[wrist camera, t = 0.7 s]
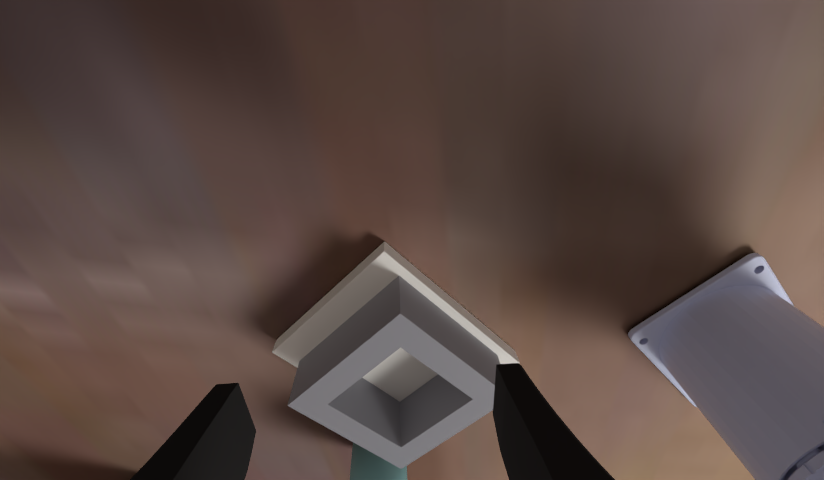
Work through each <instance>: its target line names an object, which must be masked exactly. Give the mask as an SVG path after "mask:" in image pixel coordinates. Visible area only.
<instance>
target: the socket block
mask: <svg viewBox="0 0 824 480" xmlns="http://www.w3.org/2000/svg"><path fill="white" fill-rule="evenodd" d="M272 353H274V354H276V355H277V356H279V357H281V358H282V359H284V360H285V361H287V362H289V363H290V364H292V365H294V366H295V367H297V372H296V376H295V379H294V383H293V387H292V391H291V394H290V398H289V402H288V406H289V407H291V408H292V409H294V410H296V411H298V412H300V413H301V414H303V415H305V416H307V417H309V418H310V419H312V420H314V421H316V422H318V423H319V424H321V425H323V426H325V427H327V428H328V429H330V430H332V431H334V432H336V433H337V434H339V435H341V436H343V437H345V438H346V439H348V440H350V441H352V442H354V443H355V444H357V445H359V446H361V447H363V448H364V449H366V450H368V451H370V452H372V453H373V454H375V455H377V456H379V457H381V458H382V459H384V460H386V461H388V462H390V463H391V464H393V465H395V466H397V467H398V468H400V469H402V468H404V467H405V466H407V465H408V464H410V463H411V462H413V461H415V460H416V459H418V458H419V457H421V456H422V455H424V454H425V453H427V452H428V451H430V450H432V449H433V448H435V447H436V446H438V445H439V444H441V443H442V442H444V441H445V440H447V439H449V438H450V437H452V436H453V435H455V434H456V433H458V432H459V431H461V430H463V429H464V428H466V427H467V426H469V425H470V424H472V423H473V422H475V421H476V420H478V419H480V418H481V417H483V416H484V415H486V414H487V413H489V412H490V411H492V410H493V404H494V390H495V376H496V364H510V363H520V362H519V360H518V357H517V354H516V352H515V350H513V349H512V348H511V347H510V346H509V345H508V344H506V343H505V342H504V341H503V340H502V339H500V338H499V337H498V336H497V335H496V334H494V333H493V332H492V331H491V330H490V329H488V328H487V327H486V326H485V325H484V324H482V323H481V322H480V321H479V320H478V319H477V318H475V317H474V316H473V315H472V314H471V313H469V312H468V311H467V310H466V309H465V308H463V307H462V306H461V305H460V304H459V303H457V302H456V301H455V300H454V299H453V298H451V297H450V296H449V295H448V294H447V293H446V292H444V291H443V290H442V289H441V288H440V287H438V286H437V285H436V284H435V283H434V282H432V281H431V280H430V279H429V278H428V277H426V276H425V275H424V274H423V273H422V272H420V271H419V270H418V269H417V268H416V267H415V266H413V265H412V264H411V263H410V262H409V261H407V260H406V259H405V258H404V257H403V256H401V255H400V254H399V253H398V252H397V251H395V250H394V249H393V248H392V247H391V246H389V245H388V244H387V243H386V242H385V241H384V242H383V243H382V244H381V245H380V246H379V247H378V248H377V249H375V250H374V251H373V252H372V253H371V254H370V255H369V256H368V257H367V258H366V259H365V260H363V261H362V262H361V263H360V264H359V265H358V266H357V267H356V268H355V269H354V270H352V271H351V272H350V273H349V274H348V275H347V276H346V277H345V278H344V279H343V280H341V281H340V282H339V283H338V284H337V285H336V286H335V287H334V288H333V289H332V290H330V291H329V292H328V293H327V294H326V295H325V296H324V297H323V298H322V299H321V300H319V301H318V302H317V303H316V304H315V305H314V306H313V307H312V308H311V309H310V310H308V311H307V312H306V313H305V314H304V315H303V316H302V317H301V318H300V319H299V320H298V321H296V322H295V323H294V324H293V325H292V326H291V327H290V328H289V329H288V330H287V331H285V332H284V333H283V334H282V335H281V336H280V337H279V338H278V339H277V340H276V342H275V345H274V348H273V351H272Z"/></svg>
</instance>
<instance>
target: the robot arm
mask: <svg viewBox="0 0 824 480" xmlns="http://www.w3.org/2000/svg"><path fill="white" fill-rule="evenodd" d="M628 336H629V338H630V339H631V341H632V342H633V343H634V344H635V345H636V346H637V347H638V348H639V349H640V350H641V351H642V352H643V353H644V354H645V355H646V356H647V358H648V359H649V360H650V361H651V362H652V363H653V364H654V365H655V366H656V367H657V368H658V369H659V370H660V371H661V372H662V373H663V374H664V375H665V376H666V377H667V378H668V379H669V380H670V382H671V383H672V384H673V385H674V386H675V387H676V388H677V389H678V390H679V391H680V392H681V393H682V394H683V395H684V396H685V397H686V398H687V399H688V400H689V401H690V402H691V403H692V404H693V406H695V407H698V408H699V410H700V411H701V412H702V413H703V415H704V416H705V417H706V418H707V420H708V421H709V422H710V423H711V425H712V426H713V427H714V428H715V430H716V431H717V432H718V433H719V435H720V436H721V437H722V438H723V440H724V441H725V442H726V443H727V445H728V446H729V447H730V448H731V450H732V451H733V452H734V453H735V455H736V456H737V457H738V458H739V460H740V461H741V462H742V463H743V465H744V466H745V467H746V468H747V470H748V471H749V472H750V473H751V475H752V476H753V477H754V478H755V480H824V327H823V326H821V325H820V324H818V323H817V322H816V321H814V320H813V319H811V318H810V317H808V316H807V315H806V314H804V313H803V312H801V311H800V310H799V309H797V308H796V307H794V305H793V303H792V302H791V300H790V298H789V297H788V295H787V294H786V292H785V290H784V289H783V287H782V286H781V284H780V282H779V281H778V279H777V278H776V276H775V274H774V273H773V271H772V270H771V268H770V266H769V265H768V263H767V262H766V260H765V258H764V257H763V256H761V255H759V254H758V253H751V254H748V255H746V256H745V257H743V258H742V259H740V260H739V261H737V262H735V263H734V264H732V265H731V266H729V267H728V268H726V269H724V270H723V271H721V272H720V273H718V274H717V275H715V276H713V277H712V278H710V279H709V280H707V281H706V282H704V283H703V284H701V285H699V286H698V287H696V288H695V289H693V290H692V291H690V292H688V293H687V294H685V295H684V296H682V297H681V298H679V299H677V300H676V301H674V302H673V303H671V304H670V305H668V306H667V307H665V308H663V309H662V310H660V311H659V312H657V313H656V314H654V315H652V316H651V317H649V318H648V319H646V320H645V321H643V322H641V323H640V324H638V325H637V326H635V327H634V328H632V329H631V330H630V331H629V333H628ZM493 417H494V422H495V427H496V432H497V437H498V442H499V446H500V451H501V454H502V458H503V461H504V464H505V467H506V471H507V474H508V477H509V480H615V479H614V478H613V477H612V476H611V475H610V474H609V473H608V472H607V471H606V470H605V469H604V468H603V467H602V466H601V465H600V464H599V462H598V461H597V460H596V459H595V458H594V457H593V456H592V455H591V454H590V453H589V451H588V450H587V449H586V448H585V447H584V446H583V445H582V444H581V442H580V441H579V440H578V439H577V438H576V437H575V435H574V434H573V433H572V432H571V431H570V429H569V428H568V427H567V426H566V425H565V423H564V422H563V421H562V420H561V418H560V417H559V416H558V415H557V414H556V412H555V411H554V410H553V408H552V407H551V406H550V405H549V403H548V402H547V401H546V399H545V398H544V397H543V395H542V394H541V393H540V391H539V390H538V389H537V387H536V386H535V385H534V383H533V382H532V380H531V379H530V378H529V376H528V375H527V373H526V372H525V370H524V369H523V367H522V366H521V365H520V364H519V363H510V364H496V376H495V390H494V404H493ZM255 433H256V429H255V427H254V424H253V421H252V419H251V416H250V413H249V410H248V408H247V405H246V402H245V400H244V397H243V394H242V391H241V389H240V386H239V383H230V384H216V385H215V387H214V388H213V389H212V390H211V391H210V392H209V393H208V394H207V395H206V397H205V398H204V399H203V400H202V401H201V402H200V403H199V404H198V406H197V407H196V408H195V409H194V410H193V411H192V412H191V414H190V415H189V416H188V417H187V418H186V419H185V420H184V422H183V423H182V424H181V425H180V426H179V427H178V428H177V430H176V431H175V432H174V433H173V434H172V435H171V436H170V437H169V438H168V440H167V441H166V442H165V443H164V444H163V445H162V446H161V447H160V448H159V449H158V451H157V452H156V453H155V454H154V455H153V456H152V457H151V458H150V459H149V460H148V461H147V463H146V464H145V465H144V466H143V467H142V468H141V469H140V470H139V471H138V472H137V473H136V474H135V475H134V476H133V477H132V478H131V479H130V480H244V479H245V476H246V473H247V470H248V466H249V461H250V457H251V453H252V448H253V443H254V438H255Z"/></svg>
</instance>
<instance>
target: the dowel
mask: <svg viewBox="0 0 824 480" xmlns="http://www.w3.org/2000/svg"><path fill="white" fill-rule="evenodd" d="M350 480H407V466H405V467H404V468H402V469H400V468H398V467H397V466H395V465H393V464H391V463H390V462H388V461H386V460H384V459H382V458H381V457H379V456H377V455H375V454H373V453H372V452H370V451H368V450H366V449H364V448H363V447H361V446H359V445H357V444H355V443H354V442H353V448H352V460H351V471H350Z"/></svg>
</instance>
